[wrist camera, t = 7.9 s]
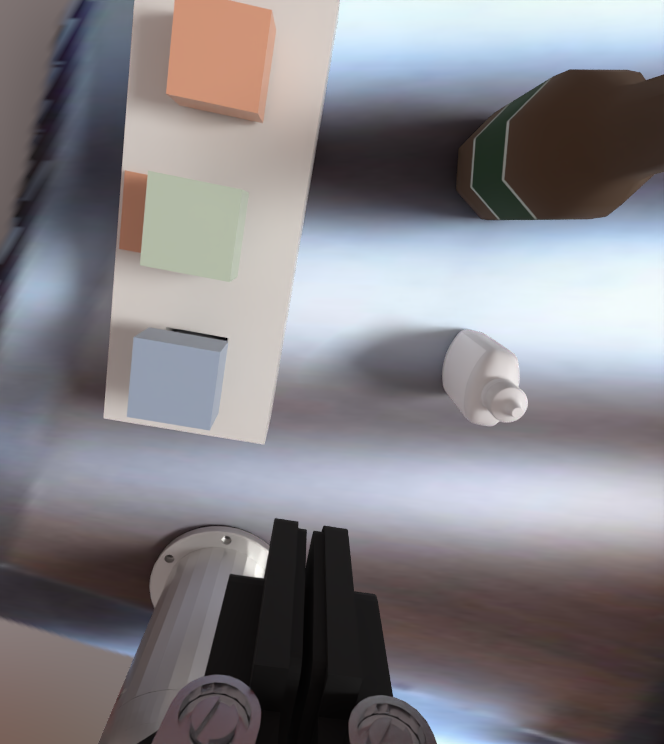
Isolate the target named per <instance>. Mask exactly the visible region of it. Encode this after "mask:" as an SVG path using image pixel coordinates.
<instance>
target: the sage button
mask: <svg viewBox="0 0 664 744" xmlns="http://www.w3.org/2000/svg"><path fill="white" fill-rule="evenodd" d="M248 198H249V192H247V191H244V190H242V189H237V188H232V187H227V186H222V185H217V184H212V183H207V182H202V181H197V180H192V179H187V178H182V177H177V176H172V175H167V174H163V173H158V172H153V171H148V177H147V189H146V200H145V212H144V223H143V235H142V247H141V258H140V265H141V266H146V267H152V268H157V269H162V270H168V271H173V272H178V273H184V274H189V275H194V276H200V277H205V278H210V279H216V280H221V281H226V282H231V281H232V280H234V279H235V278H237V277H238V270H239V262H240V255H241V248H242V241H243V234H244V226H245V219H246V212H247V205H248Z"/></svg>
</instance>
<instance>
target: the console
mask: <svg viewBox="0 0 664 744" xmlns="http://www.w3.org/2000/svg"><path fill="white" fill-rule="evenodd" d="M231 1H235V2H239V3H244V4H248V5H252V6H257V7H261V8H265V9H270V10H272V12H273V17H274V22H275V27H276V35H275V42H274V49H273V56H272V63H271V71H270V78H269V85H268V92H267V99H266V106H265V113H264V120H263V123H260V122H255V121H250V120H246V119H241V118H236V117H231V116H227V115H222V114H217V113H213V112H208V111H203V110H199V109H194V108H189V107H185V106H180V105H179V104H177V103H176V102H175V101H174V100H173V99H172V98H170V97H169V96H168V95H167V94H166V89H167V78H168V67H169V56H170V45H171V34H172V24H173V13H174V2H175V0H134V12H133V25H132V39H131V52H130V66H129V79H128V93H127V107H126V120H125V134H124V147H123V161H122V175H121V188H120V202H119V215H118V229H117V242H116V256H115V270H114V283H113V297H112V310H111V324H110V338H109V351H108V365H107V378H106V392H105V405H104V418H105V419H111V420H117V421H123V422H129V423H136V424H142V425H148V426H154V427H160V428H166V429H172V430H178V431H185V432H191V433H197V434H203V435H209V436H215V437H221V438H227V439H234V440H240V441H246V442H252V443H258V444H265V440H266V436H267V432H268V427H269V423H270V418H271V412H272V407H273V401H274V395H275V389H276V383H277V377H278V371H279V365H280V359H281V353H282V348H283V342H284V336H285V330H286V324H287V318H288V312H289V306H290V300H291V294H292V289H293V283H294V277H295V271H296V265H297V259H298V253H299V247H300V241H301V235H302V230H303V224H304V218H305V212H306V206H307V200H308V194H309V188H310V182H311V176H312V171H313V165H314V159H315V153H316V147H317V141H318V135H319V129H320V123H321V117H322V112H323V106H324V100H325V94H326V88H327V82H328V76H329V70H330V64H331V58H332V53H333V47H334V41H335V35H336V29H337V23H338V13H339V3H340V0H231ZM148 171H153V172H158V173H163V174H167V175H172V176H177V177H182V178H187V179H192V180H197V181H202V182H207V183H212V184H217V185H222V186H227V187H232V188H237V189H242V190H244V191H247V192H249V198H248V205H247V212H246V219H245V226H244V234H243V241H242V248H241V255H240V262H239V270H238V277H237V278H235V279H234V280H232V281H231V282H226V281H221V280H216V279H210V278H205V277H200V276H194V275H189V274H184V273H178V272H173V271H168V270H162V269H157V268H152V267H146V266H141V265H140V258H141V247H142V235H143V223H144V212H145V200H146V189H147V177H148ZM149 327H151V328H156V329H162V330H168V331H173V332H177V331H178V330H179V329H181V330H186V331H192V332H198V333H203V334H209V335H214V336H220V337H225V338H228V349H227V356H226V363H225V370H224V377H223V384H222V392H221V399H220V406H219V413H218V415H217V417H216V419H215V421H214V423H213V425H212V427H211V429H210V430H203V429H197V428H191V427H185V426H179V425H173V424H167V423H161V422H155V421H149V420H142V419H136V418H130V417H127V408H128V396H129V385H130V373H131V362H132V350H133V339H134V337H135V336H136V335H138V334H139V333H141V332H143V331H144V330H146V329H147V328H149Z"/></svg>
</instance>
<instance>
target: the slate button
mask: <svg viewBox="0 0 664 744" xmlns="http://www.w3.org/2000/svg"><path fill="white" fill-rule="evenodd" d="M225 340H226V338H225V337H220V336H214V335H209V334H203V333H198V332H192V331H186V330H181V329H179V330H178V331H177V332H173V331H168V330H162V329H156V328H151V327H149V328H147V329H146V330H144V331H143V332H141V333H139V334H138V335H136V336H135V337H134V339H133V350H132V362H131V373H130V385H129V396H128V408H127V417H130V418H136V419H142V420H149V421H155V422H161V423H167V424H173V425H179V426H185V427H191V428H197V429H203V430H210V429H211V427H212V425H213V423H214V421H215V419H216V417H217V415H218V413H219V406H220V399H221V392H222V384H223V377H224V370H225V363H226V356H227V349H228V341H225Z"/></svg>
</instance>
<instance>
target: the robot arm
mask: <svg viewBox="0 0 664 744" xmlns="http://www.w3.org/2000/svg"><path fill="white" fill-rule="evenodd" d="M306 536H307V530H306V529H299V528H298V522H297V521H290V520H284V519H277V518H275V520H274V525H273V530H272V536H271V541H270V546H269V545H268V544H267V543H266V542H264V541H263V540H262V539H260V538H258V537H257V536H255V535H253V534H251V533H249V532H246V531H243V530H241V529H237V528H232V527H226V526H210V527H203V528H198V529H195V530H192V531H189V532H186V533H184V534H183V535H181V536H179V537H177V538H176V539H174V540H173V541H172V542H171V543H169V544H168V545H167V546H166V547H165V549H164V550H163V551H162V552H161V554H160V555H159V557H158V559H157V561H156V563H155V565H154V567H153V570H152V573H151V576H150V584H149V589H150V598H151V601H152V603H153V606H154V611H153V614H152V616H151V619H150V621H149V623H148V626H147V628H146V630H145V633H144V635H143V638H142V640H141V642H140V645H139V647H138V649H137V652H136V654H135V657H134V659H133V661H132V664H131V667H130V669H129V671H128V673H127V676H126V679H125V681H124V683H123V685H122V687H121V690H120V692H119V695H118V697H117V699H116V702H115V704H114V707H113V709H112V711H111V714H110V716H109V718H108V721H107V723H106V726H105V728H104V730H103V733H102V735H101V738H100V740H99V743H98V744H437V743H436V740H435V737H434V734H433V732H432V731H431V729H430V727H429V725H428V723H427V721H426V720H425V719H424V718H423V716H422V715H421V714H420V713H419V712H418V711H417V710H416V709H415V708H413V707H412V706H410V705H409V704H408V703H406V702H404V701H402V700H400V699H397V698H395V697H393V694H392V688H391V681H390V675H389V669H388V663H387V656H386V650H385V644H384V638H383V631H382V625H381V619H380V613H379V606H378V601H377V597H376V595H375V594H369V593H362V592H355V591H354V586H353V576H352V566H351V556H350V546H349V537H348V530H347V529H343V528H336V527H330V526H323V529H322V532H319V531H313V535H312V539H311V544H310V549H309V554H308V558H307V563H306ZM305 566H306V568H305Z"/></svg>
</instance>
